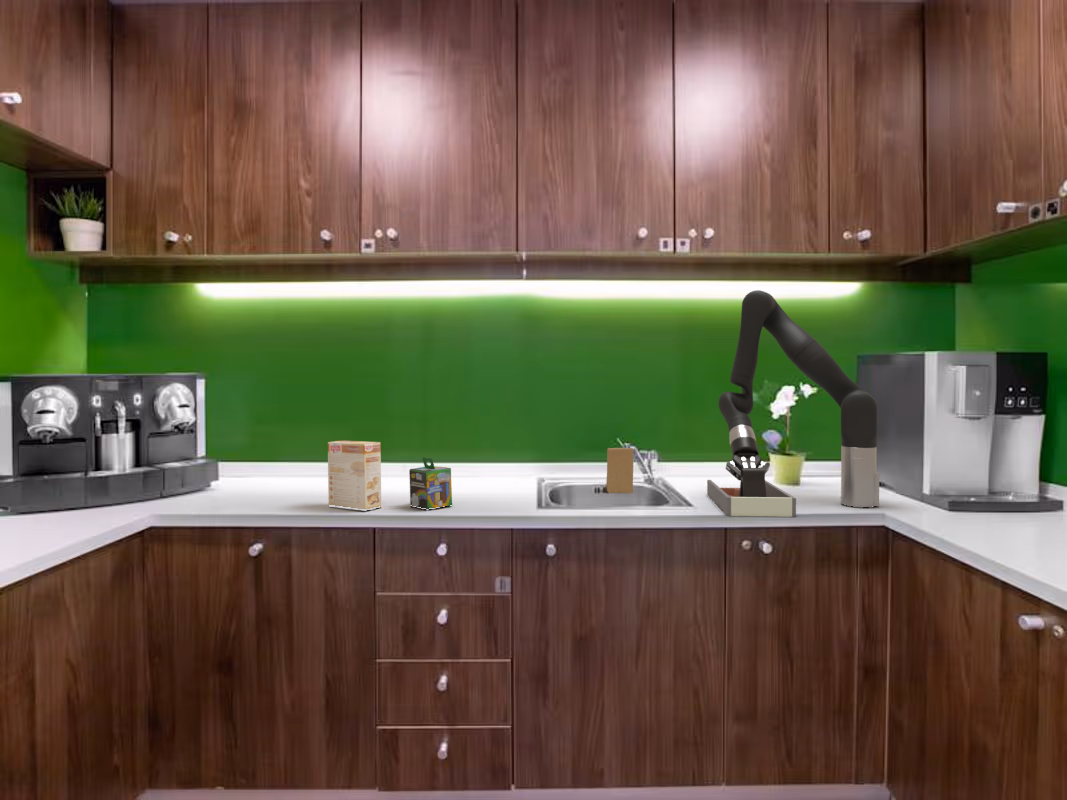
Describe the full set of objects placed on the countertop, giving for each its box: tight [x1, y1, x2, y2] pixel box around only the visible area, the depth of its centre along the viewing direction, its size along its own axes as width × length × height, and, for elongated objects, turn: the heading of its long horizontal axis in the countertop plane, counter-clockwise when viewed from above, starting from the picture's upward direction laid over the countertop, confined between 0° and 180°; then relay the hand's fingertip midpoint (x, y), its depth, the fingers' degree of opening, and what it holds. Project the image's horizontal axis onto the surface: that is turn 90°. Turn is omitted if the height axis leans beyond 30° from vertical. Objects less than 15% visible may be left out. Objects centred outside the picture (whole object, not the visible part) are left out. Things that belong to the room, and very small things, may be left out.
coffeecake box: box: [327, 440, 382, 509], centre depth 189 cm, size 15×7×20 cm, turn 59°
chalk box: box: [409, 456, 453, 509], centre depth 190 cm, size 9×9×15 cm
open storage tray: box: [706, 479, 797, 518], centre depth 190 cm, size 18×32×5 cm, turn 174°
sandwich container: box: [605, 447, 634, 494], centre depth 220 cm, size 9×15×15 cm, turn 176°
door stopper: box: [739, 467, 766, 497], centre depth 182 cm, size 9×6×12 cm, turn 173°
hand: (752, 490), depth 183 cm, fingers closed
